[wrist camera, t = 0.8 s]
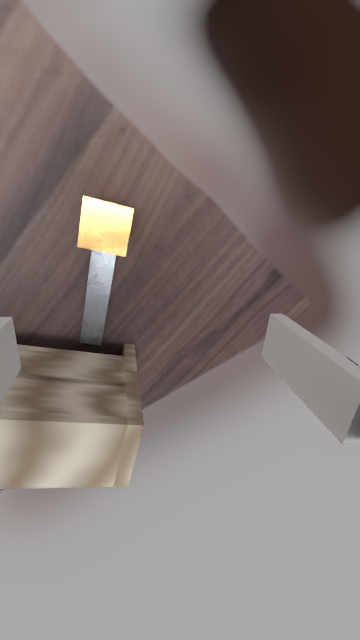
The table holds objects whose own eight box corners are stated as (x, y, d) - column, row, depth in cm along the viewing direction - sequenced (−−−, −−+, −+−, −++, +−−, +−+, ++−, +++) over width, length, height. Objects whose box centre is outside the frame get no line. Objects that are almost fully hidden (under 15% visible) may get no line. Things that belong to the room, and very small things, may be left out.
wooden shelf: (-25, 377, 37) (-117, 491, 22) (-26, 324, 34) (-130, 414, 20) (124, 389, 42) (128, 486, 28) (134, 344, 40) (143, 425, 25)
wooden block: (76, 336, 37) (61, 385, 28) (94, 197, 31) (83, 195, 21) (106, 340, 39) (102, 388, 29) (129, 206, 32) (134, 208, 23)
